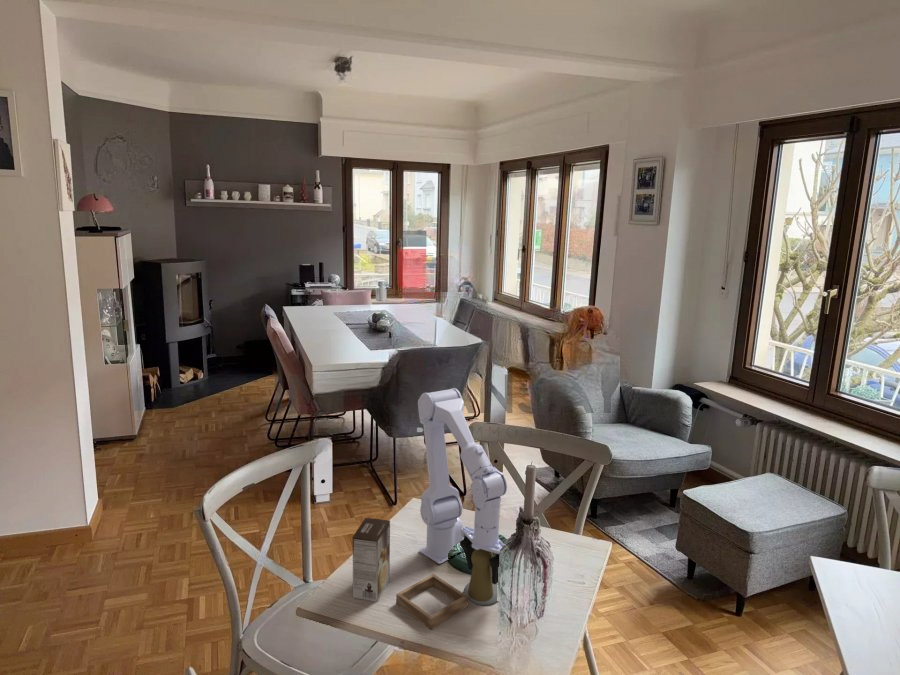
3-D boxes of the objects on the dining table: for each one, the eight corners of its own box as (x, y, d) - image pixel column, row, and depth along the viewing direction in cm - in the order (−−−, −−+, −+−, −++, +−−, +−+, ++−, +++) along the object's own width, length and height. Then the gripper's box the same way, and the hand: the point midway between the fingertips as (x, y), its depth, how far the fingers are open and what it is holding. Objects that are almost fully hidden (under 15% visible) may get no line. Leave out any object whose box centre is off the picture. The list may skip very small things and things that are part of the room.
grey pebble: (481, 576, 153) (481, 574, 153) (509, 593, 147) (509, 591, 146) (456, 592, 147) (456, 590, 146) (484, 610, 140) (484, 608, 140)
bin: (433, 582, 150) (433, 573, 149) (467, 606, 142) (467, 596, 141) (396, 603, 142) (396, 594, 141) (430, 629, 134) (430, 619, 133)
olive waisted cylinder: (464, 587, 148) (466, 546, 145) (488, 583, 149) (490, 542, 147) (472, 603, 142) (474, 560, 139) (497, 599, 144) (499, 557, 141)
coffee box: (365, 575, 152) (365, 516, 148) (390, 579, 151) (391, 519, 147) (352, 598, 143) (351, 536, 139) (378, 602, 142) (379, 540, 138)
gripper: (452, 516, 145) (450, 567, 148) (499, 541, 135) (496, 596, 138) (473, 506, 149) (470, 556, 153) (519, 530, 139) (516, 583, 143)
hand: (484, 574), depth 145 cm, fingers open, 7 cm apart
